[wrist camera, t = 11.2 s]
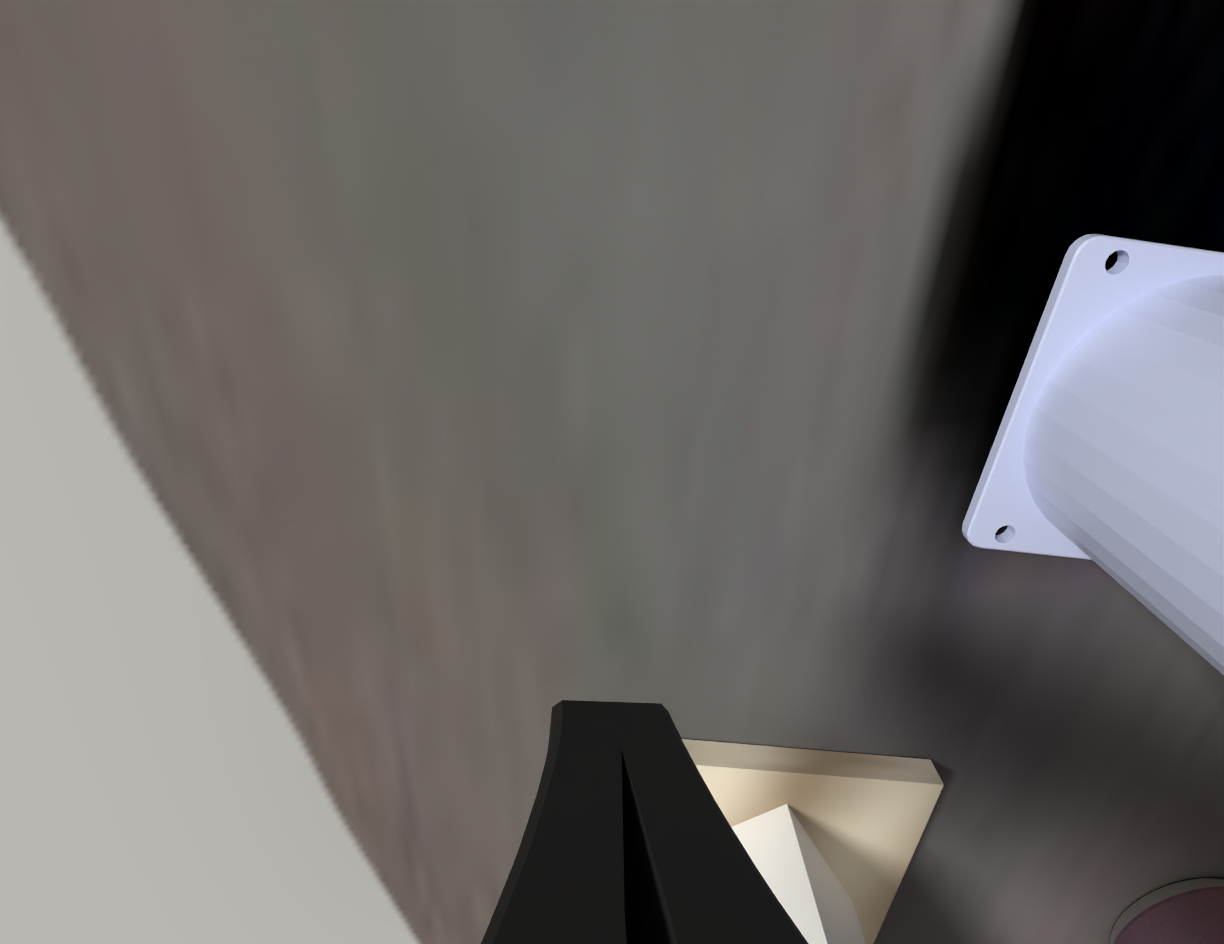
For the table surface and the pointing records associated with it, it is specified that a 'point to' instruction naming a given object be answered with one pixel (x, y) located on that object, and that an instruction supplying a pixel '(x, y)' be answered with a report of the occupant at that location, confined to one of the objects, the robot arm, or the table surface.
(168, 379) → the table surface
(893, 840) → the beige square base
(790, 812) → the white rectangular block
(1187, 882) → the beverage can
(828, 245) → the table surface
